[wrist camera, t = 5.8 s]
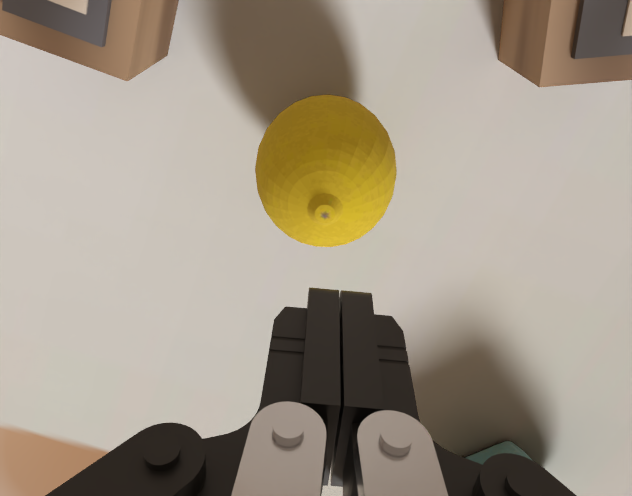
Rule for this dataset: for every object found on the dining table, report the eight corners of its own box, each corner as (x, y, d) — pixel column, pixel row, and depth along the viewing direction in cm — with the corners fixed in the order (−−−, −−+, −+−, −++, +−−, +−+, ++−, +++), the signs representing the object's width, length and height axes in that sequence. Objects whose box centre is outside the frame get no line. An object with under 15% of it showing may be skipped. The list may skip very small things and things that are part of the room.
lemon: (249, 161, 24) (217, 246, 17) (298, 52, 21) (283, 101, 15) (350, 208, 25) (358, 305, 18) (408, 110, 23) (443, 180, 16)
